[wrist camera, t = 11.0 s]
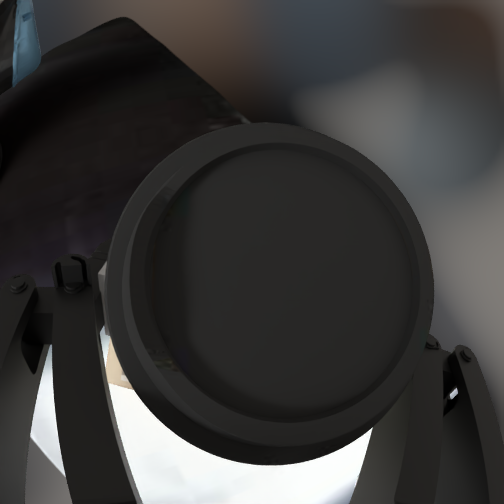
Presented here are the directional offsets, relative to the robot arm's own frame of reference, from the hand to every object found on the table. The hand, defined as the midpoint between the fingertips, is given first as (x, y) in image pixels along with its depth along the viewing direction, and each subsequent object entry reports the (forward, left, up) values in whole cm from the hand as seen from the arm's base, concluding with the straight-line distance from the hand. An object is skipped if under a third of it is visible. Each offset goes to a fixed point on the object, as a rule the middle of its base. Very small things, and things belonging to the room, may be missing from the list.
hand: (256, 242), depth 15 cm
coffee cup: (0, -3, -6) cm, 7 cm away
